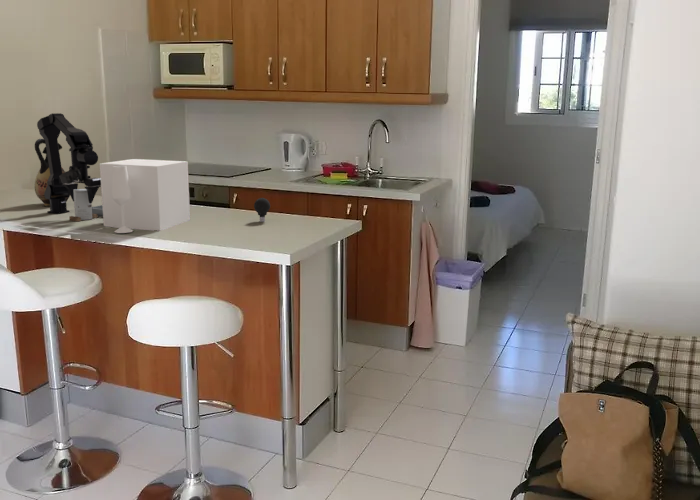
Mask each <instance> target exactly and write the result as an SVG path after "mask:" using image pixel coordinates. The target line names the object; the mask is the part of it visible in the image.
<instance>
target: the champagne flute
mask: <svg viewBox="0 0 700 500" xmlns="http://www.w3.org/2000/svg"><path fill="white" fill-rule="evenodd" d="M112 198H113V200H114V201H115V202H116V203H117V204H119V205H120V206H121V222H122V226H121V227H120V228H117V229H116V230H114V231H113V232H114V233H115V234H125V233H133V231H134V229H129V228H128V227H126V226H125V216H124V205H125V204H126V203H127V202H128V201H129V200H130V198H131V192H130V186H129V179H128V173H127V166H113V178H112Z"/></svg>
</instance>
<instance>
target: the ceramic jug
mask: <svg viewBox="0 0 700 500" xmlns="http://www.w3.org/2000/svg"><path fill="white" fill-rule="evenodd" d="M42 144H44V145H46V143H45V140H44V138H39V139H38V138H37V139H36V140H35V142H34V150H35V153H36V154H37V157H38V160H39V162H40V168H39V170H38V172H37V174H36V176H35V179H34V192H35V196H36V197H37V198H38V199H39V200H40V201H41V202H42V204H43V206H46V207H47V206H49V207H50V202H49V199H46V198H45V195H44V193H45V190H46V188H47V181H48V179H49V176H50V170H49V163H48V157H47V150H46V146H45V147H44V148H43V150H42V151H41V149H40V146H41V145H42ZM58 147H59V151H60V150H62V149H63V146H62V145H61V144H60V143H59V142H58ZM42 154H45V157H44V156H43V155H42ZM65 172H66V171H65V169H64V168H63V167H62V173H65ZM51 196H52V195H51ZM55 196H58V195H55ZM69 198H71V196H69ZM69 198H65V200H66V203H67V202H68V199H69ZM37 208H38V207H37Z"/></svg>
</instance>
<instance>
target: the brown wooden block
mask: <svg viewBox="0 0 700 500" xmlns="http://www.w3.org/2000/svg"><path fill="white" fill-rule="evenodd" d="M92 219H98V216H97V214H92ZM69 221H70V222H71V221H73V222H81V221H82V220H81V217H75V215H71V216H69Z"/></svg>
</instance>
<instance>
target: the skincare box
mask: <svg viewBox="0 0 700 500" xmlns="http://www.w3.org/2000/svg"><path fill="white" fill-rule="evenodd" d="M73 192H74V201H73V203H74V204H73V205H74V206H73V207H74V216H75V217H81V221H84V220H85V221H87V220H93V218H92V207H93V205H92V203H93V202H92V203H89V200H88V193H87V190H86V188H79V189H78V188H77V189H74V190H73Z"/></svg>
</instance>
